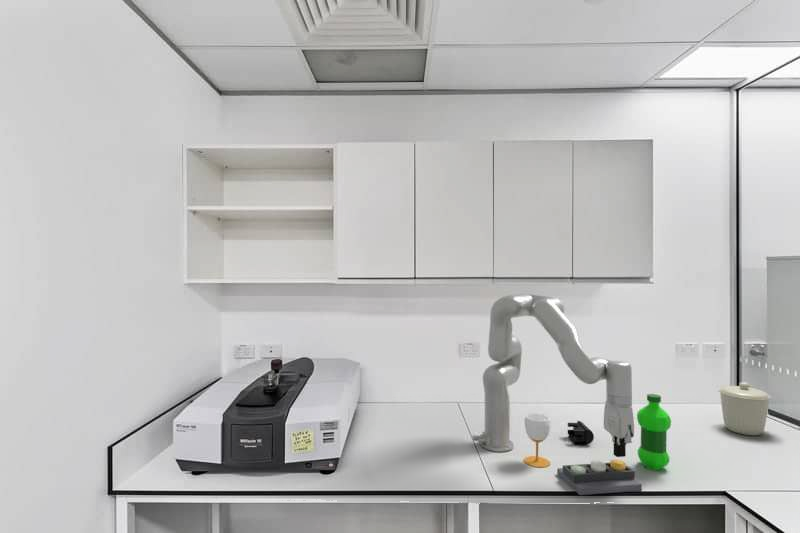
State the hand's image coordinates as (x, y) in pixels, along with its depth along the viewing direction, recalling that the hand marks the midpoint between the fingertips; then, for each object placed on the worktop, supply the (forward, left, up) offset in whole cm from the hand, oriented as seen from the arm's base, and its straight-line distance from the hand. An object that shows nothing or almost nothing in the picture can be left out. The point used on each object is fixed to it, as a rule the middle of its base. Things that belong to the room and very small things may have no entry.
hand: (619, 455), depth 150 cm
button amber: (0, 0, -5) cm, 5 cm away
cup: (-20, +17, -9) cm, 28 cm away
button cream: (-7, 0, -5) cm, 9 cm away
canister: (+82, +34, -9) cm, 89 cm away
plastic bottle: (+19, +8, -9) cm, 22 cm away
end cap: (+6, +33, -9) cm, 35 cm away
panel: (-7, 0, -8) cm, 11 cm away
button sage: (-14, 0, -6) cm, 16 cm away
